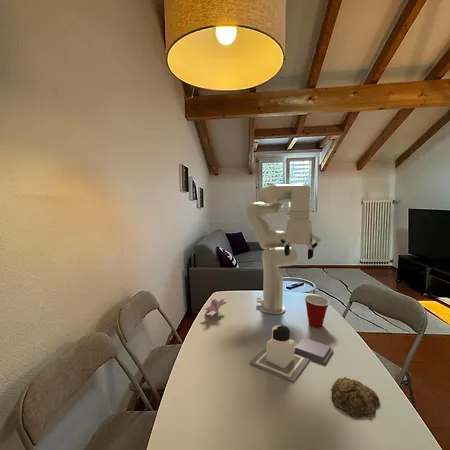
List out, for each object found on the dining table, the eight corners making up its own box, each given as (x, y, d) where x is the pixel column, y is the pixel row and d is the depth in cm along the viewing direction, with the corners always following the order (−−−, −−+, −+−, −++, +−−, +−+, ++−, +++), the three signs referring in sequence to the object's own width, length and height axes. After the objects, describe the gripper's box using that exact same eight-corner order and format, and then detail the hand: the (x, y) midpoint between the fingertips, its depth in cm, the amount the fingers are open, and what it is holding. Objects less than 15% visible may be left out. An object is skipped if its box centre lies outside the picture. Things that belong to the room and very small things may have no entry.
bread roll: (338, 380, 88) (338, 365, 88) (382, 398, 81) (383, 382, 80) (323, 403, 79) (324, 387, 78) (371, 427, 71) (373, 409, 70)
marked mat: (249, 363, 96) (249, 361, 96) (268, 345, 107) (268, 343, 107) (293, 382, 87) (293, 380, 87) (309, 360, 98) (309, 358, 98)
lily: (231, 314, 137) (224, 295, 140) (232, 315, 126) (225, 294, 128) (208, 323, 136) (201, 304, 138) (207, 325, 125) (200, 304, 127)
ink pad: (291, 352, 103) (292, 347, 103) (301, 341, 111) (302, 336, 111) (324, 364, 96) (325, 359, 96) (333, 351, 104) (333, 346, 104)
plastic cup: (329, 332, 118) (330, 305, 116) (302, 328, 121) (303, 301, 120) (328, 321, 128) (329, 296, 126) (304, 317, 131) (305, 293, 130)
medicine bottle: (294, 359, 98) (295, 327, 96) (284, 369, 92) (285, 335, 91) (276, 352, 102) (277, 320, 101) (265, 360, 97) (266, 328, 95)
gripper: (276, 215, 115) (275, 255, 117) (318, 217, 105) (316, 262, 107) (283, 213, 121) (282, 252, 123) (324, 216, 111) (322, 258, 113)
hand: (298, 256), depth 115 cm, fingers open, 9 cm apart
